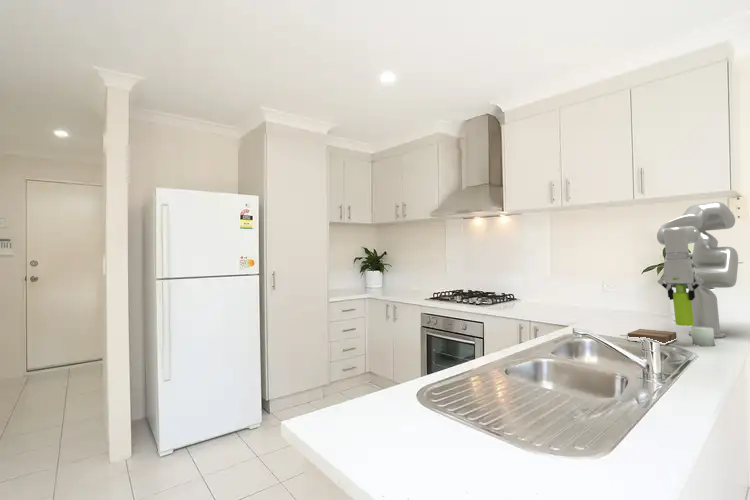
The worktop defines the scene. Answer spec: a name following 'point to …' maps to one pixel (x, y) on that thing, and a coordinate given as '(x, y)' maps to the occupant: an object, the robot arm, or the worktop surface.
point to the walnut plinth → (654, 335)
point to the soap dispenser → (682, 306)
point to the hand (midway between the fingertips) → (681, 299)
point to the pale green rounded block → (703, 336)
